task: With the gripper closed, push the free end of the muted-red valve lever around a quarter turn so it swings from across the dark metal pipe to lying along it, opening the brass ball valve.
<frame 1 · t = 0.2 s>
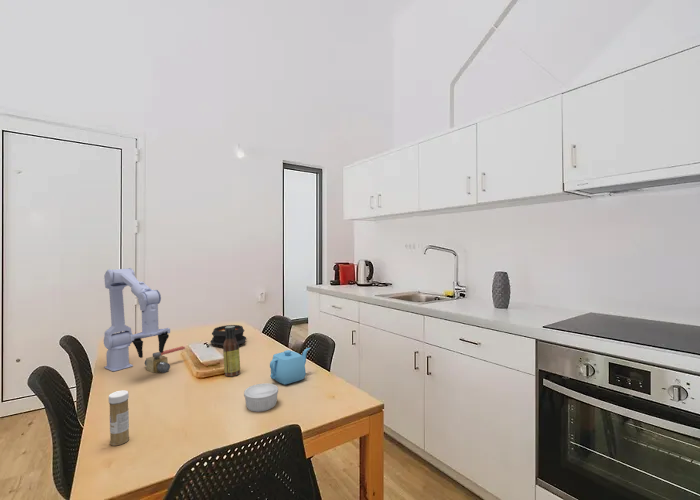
hand: (151, 354, 140), 10 cm above the table, fingers open, 7 cm apart
sauce bottle: (232, 374, 144), on the table
teapot: (291, 379, 139), on the table
lever: (168, 351, 156), point 6 cm above the table, hinge at 0.0°
sprinkles bottle: (120, 442, 96), on the table
ramekin: (261, 406, 116), on the table
valve fixture: (157, 369, 152), on the table
casserole: (228, 343, 191), on the table
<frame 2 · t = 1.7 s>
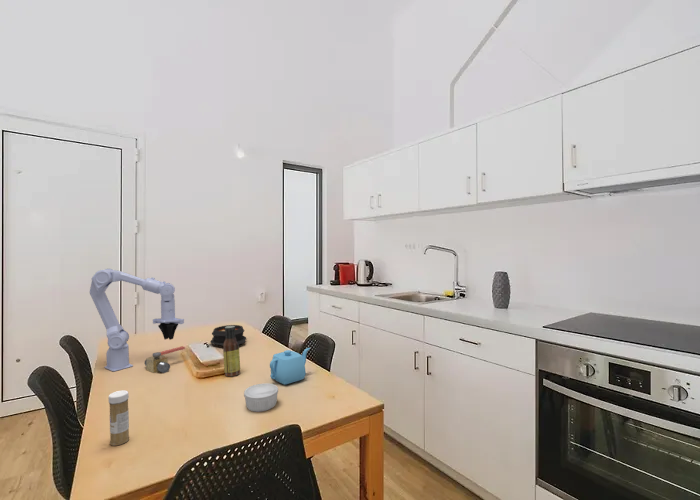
hand: (168, 339, 162), 10 cm above the table, fingers closed
nothing on the table moved.
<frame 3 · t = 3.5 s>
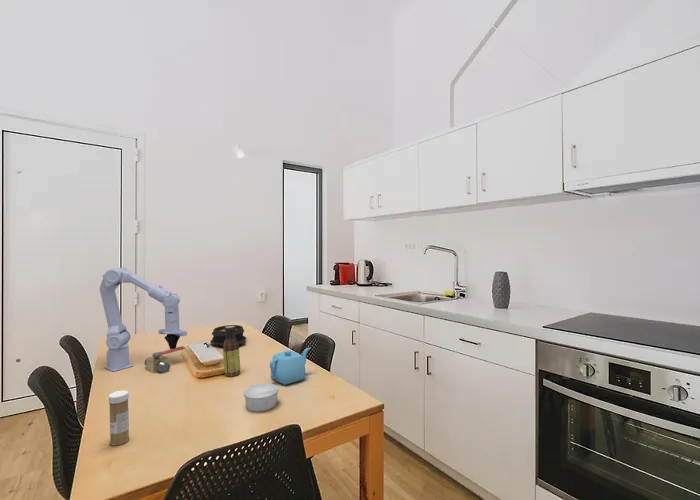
hand: (173, 350, 159), 6 cm above the table, fingers closed, pressing on lever
lever: (168, 351, 156), point 6 cm above the table, hinge at 0.0°, touching gripper
everything else where it was.
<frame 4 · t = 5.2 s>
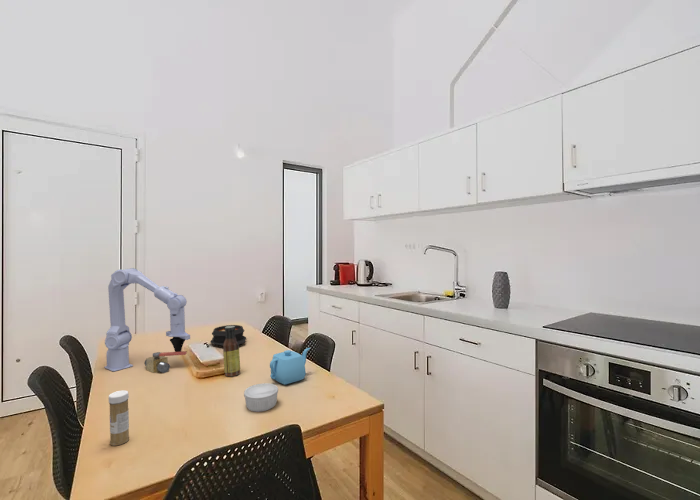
hand: (178, 353, 155), 6 cm above the table, fingers closed, pressing on lever
lever: (169, 353, 152), point 6 cm above the table, hinge at 47.2°, touching gripper
everything else where it was.
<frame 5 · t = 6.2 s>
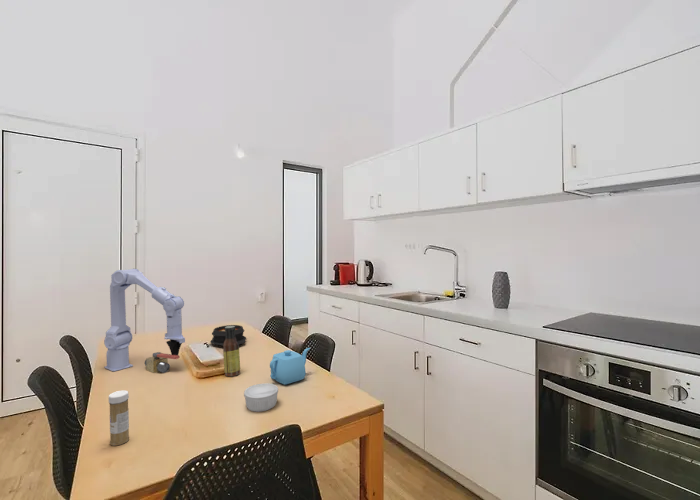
hand: (175, 356, 151), 6 cm above the table, fingers closed, pressing on lever
lever: (165, 355, 150), point 6 cm above the table, hinge at 76.4°, touching gripper
everything else where it was.
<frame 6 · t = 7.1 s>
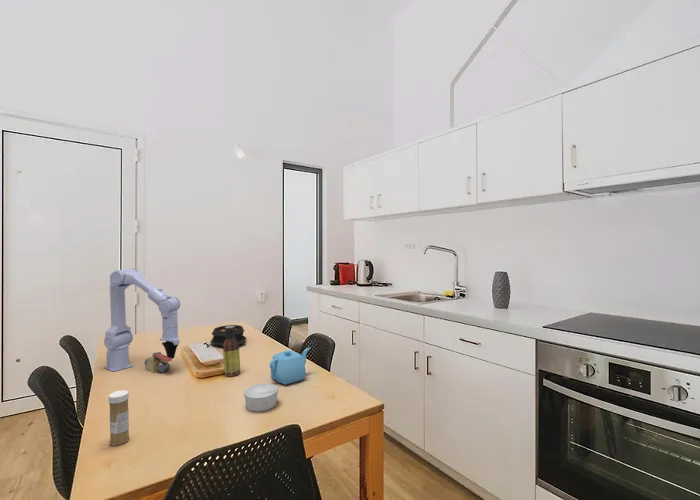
hand: (171, 358, 148), 6 cm above the table, fingers closed
lever: (162, 356, 148), point 6 cm above the table, hinge at 94.2°, touching gripper
everything else where it was.
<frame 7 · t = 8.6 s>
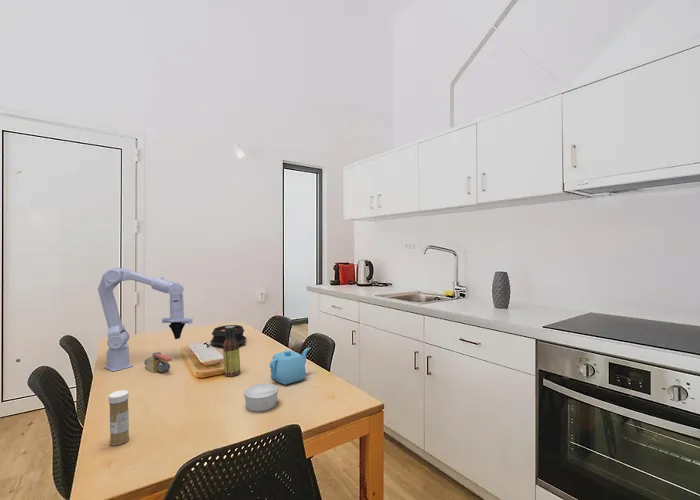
hand: (177, 338, 163), 10 cm above the table, fingers closed
lever: (162, 356, 148), point 6 cm above the table, hinge at 94.2°
everything else where it was.
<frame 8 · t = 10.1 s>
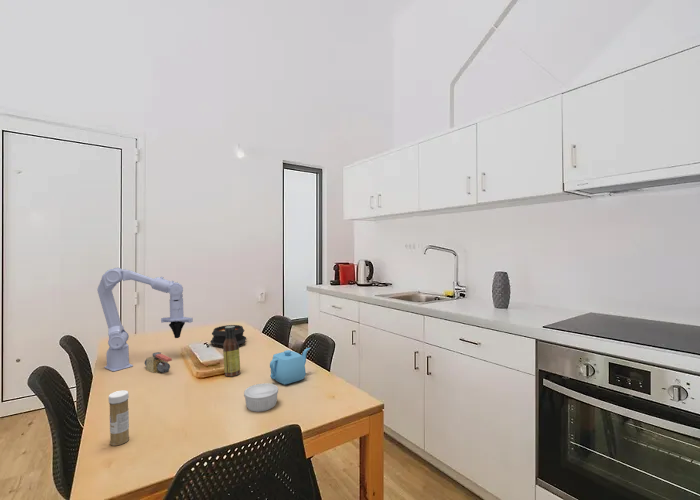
hand: (177, 337, 164), 10 cm above the table, fingers closed
nothing on the table moved.
at the end: lever at +94° (first picture: +0°) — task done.
